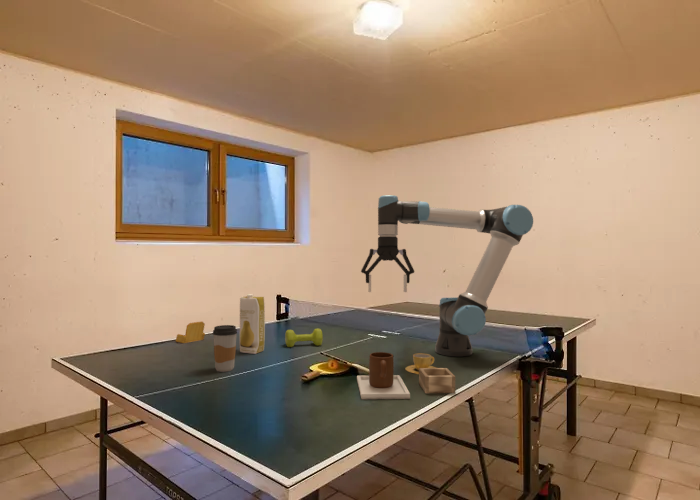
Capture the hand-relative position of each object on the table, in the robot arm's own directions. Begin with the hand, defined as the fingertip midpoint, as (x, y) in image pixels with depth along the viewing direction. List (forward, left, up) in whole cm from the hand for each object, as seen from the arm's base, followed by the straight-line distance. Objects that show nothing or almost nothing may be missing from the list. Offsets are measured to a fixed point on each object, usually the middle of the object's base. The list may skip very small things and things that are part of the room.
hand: (387, 291), depth 163 cm
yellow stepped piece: (+86, -39, -27) cm, 99 cm away
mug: (+6, +32, -26) cm, 42 cm away
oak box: (-11, +32, -27) cm, 43 cm away
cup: (-11, +11, -27) cm, 31 cm away
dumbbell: (+33, -29, -27) cm, 51 cm away
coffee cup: (+59, +9, -27) cm, 65 cm away
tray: (+6, +32, -27) cm, 42 cm away
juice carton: (+54, -17, -27) cm, 63 cm away
